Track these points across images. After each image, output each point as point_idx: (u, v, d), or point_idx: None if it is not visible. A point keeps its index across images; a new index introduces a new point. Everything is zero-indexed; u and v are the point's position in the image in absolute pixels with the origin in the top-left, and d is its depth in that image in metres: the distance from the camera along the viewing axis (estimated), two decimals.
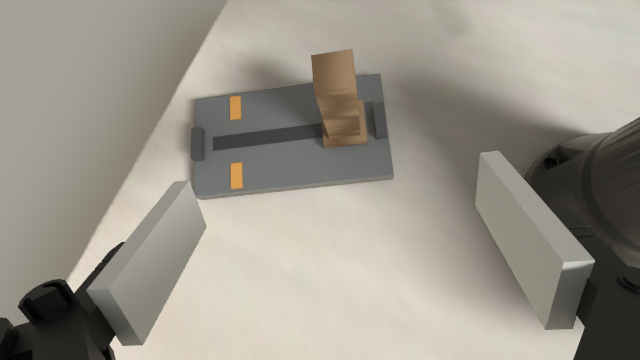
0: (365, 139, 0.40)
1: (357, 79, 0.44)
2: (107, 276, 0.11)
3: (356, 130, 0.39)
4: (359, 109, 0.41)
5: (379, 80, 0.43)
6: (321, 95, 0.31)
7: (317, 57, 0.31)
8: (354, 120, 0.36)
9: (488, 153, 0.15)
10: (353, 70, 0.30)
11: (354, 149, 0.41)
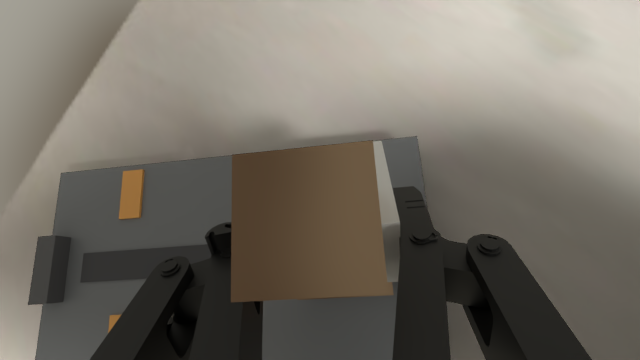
0: (389, 293, 0.18)
1: None
2: None
3: None
4: None
5: (416, 151, 0.21)
6: None
7: (250, 163, 0.09)
8: None
9: None
10: (377, 225, 0.08)
11: (363, 302, 0.20)
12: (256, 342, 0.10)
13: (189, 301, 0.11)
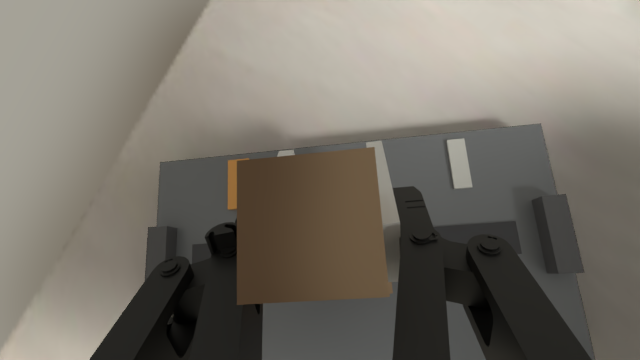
0: (388, 292, 0.18)
1: (492, 134, 0.21)
2: None
3: None
4: None
5: (541, 139, 0.21)
6: None
7: (255, 169, 0.09)
8: None
9: (372, 142, 0.17)
10: (379, 229, 0.08)
11: None
12: (256, 342, 0.10)
13: (189, 301, 0.11)
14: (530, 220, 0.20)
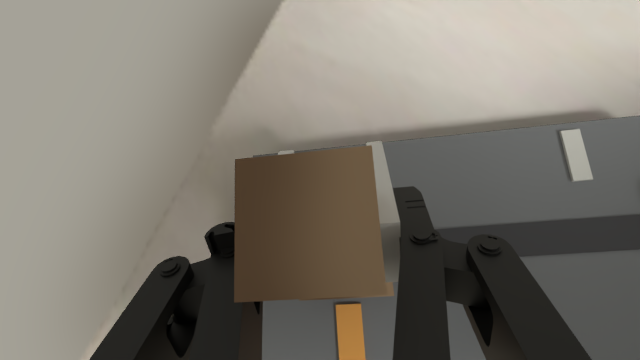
0: (389, 294, 0.18)
1: (609, 125, 0.20)
2: None
3: None
4: None
5: None
6: None
7: (253, 168, 0.09)
8: None
9: (372, 143, 0.17)
10: (376, 227, 0.08)
11: (629, 290, 0.18)
12: (256, 342, 0.10)
13: (189, 301, 0.11)
14: None
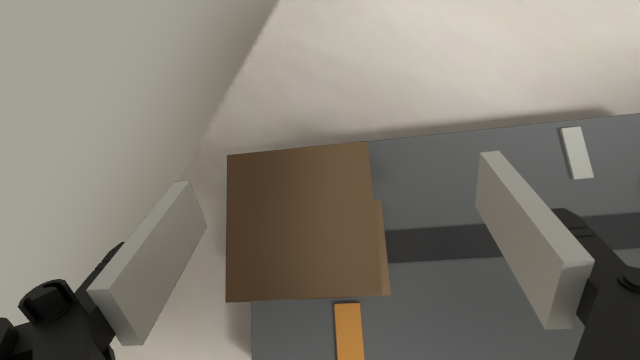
0: (386, 293, 0.18)
1: (610, 122, 0.20)
2: (107, 276, 0.11)
3: None
4: None
5: None
6: None
7: (245, 164, 0.09)
8: None
9: (488, 153, 0.15)
10: (371, 225, 0.08)
11: None
12: None
13: None
14: None
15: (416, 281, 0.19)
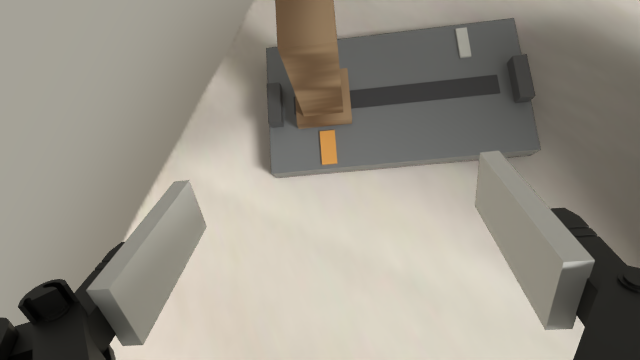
0: (349, 118, 0.32)
1: (484, 25, 0.34)
2: (107, 276, 0.11)
3: (338, 106, 0.30)
4: (343, 80, 0.32)
5: (514, 27, 0.33)
6: (288, 54, 0.22)
7: (283, 0, 0.22)
8: (335, 92, 0.28)
9: (488, 153, 0.15)
10: (333, 19, 0.21)
11: (485, 115, 0.32)
12: None
13: None
14: (505, 74, 0.33)
15: (367, 117, 0.33)
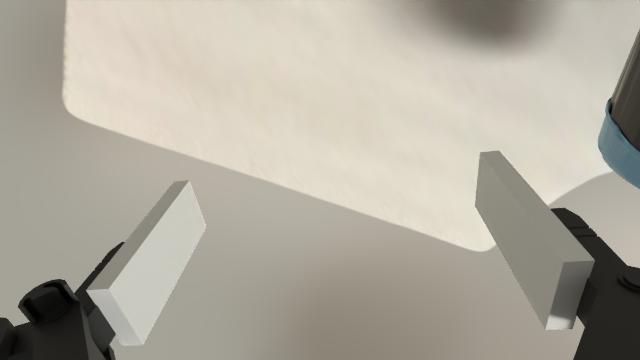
0: None
1: None
2: (107, 276, 0.11)
3: None
4: None
5: None
6: None
7: None
8: None
9: (488, 153, 0.15)
10: None
11: None
12: None
13: None
14: None
15: None
